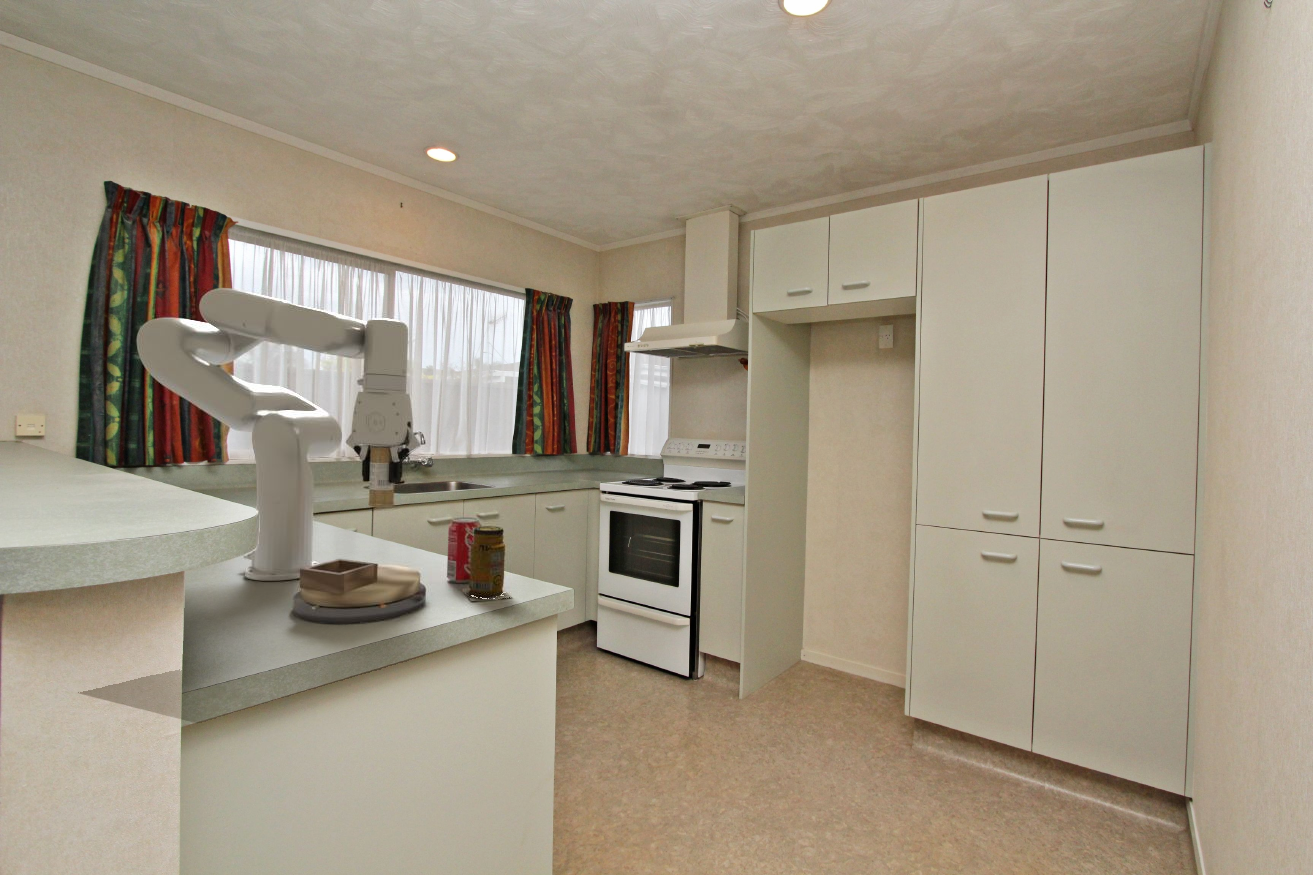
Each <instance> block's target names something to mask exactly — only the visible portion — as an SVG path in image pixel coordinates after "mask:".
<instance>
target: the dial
mask: <svg viewBox="0 0 1313 875" xmlns="http://www.w3.org/2000/svg"><path fill="white" fill-rule="evenodd" d="M420 583H421V573H420V572H419V571H418V570H416V569H414V568H411V567H408V566H407V567H406V566H402V565H394V564H378V563H374V562H368V561H360V560H351V559H344V558H337V559H333V560H329V561H326V562H321V563H320V564H317V565H313V566H309V567H305V568H302V569H300V578H299V589H300V591H301V599H302V600H303V601H305V602H307V603H310V604H314V605H319V606H327V607H360V606H371V605H378V604H384V603H389V602H394V601H398V600H401V599H404V598H407V597H409V596H412V595H414V594H415V593H417V592H418V591H419V589H420Z"/></svg>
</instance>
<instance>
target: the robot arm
mask: <svg viewBox="0 0 1313 875" xmlns="http://www.w3.org/2000/svg"><path fill="white" fill-rule="evenodd" d="M198 309H199V313H200V315H201V317H202V318H203V320H204V321H205V322H203V321H202V322H201V321H197V320H191V319H186V318H182V317H180V318H179V317H172V316H171V317H158V318H154V319H150V320H149V321H148V320H147V321H146V322H145V323H144V324H142V325H141V327H140V328H139V330H138V331H137V332H138V333H137V334H136V335H137V336H136V346H137V348H136V349H137V352H138V356H139V358H140V361H141V363H142V365H143V366H144V368H145V369H146V371H147V372H148V373H149V374H150V375H151V377H152V378H154V379H155V380H156V382H158V383H160V384H161V385H162V386H163V387H165V388H166V389H168V390H170V391H171V392H173V393H174V394H176V395H177V396H179V397H181V398H183V399H185V400H186V401H188V402H189V403H192V404H193V405H194V406H195V407H197V408H199V409H200V410H201V411H203V412H205V413H206V414H208V415H209V416H211V417H212V418H214V419H216V420H218V421H219V422H221V423H222V424H224V425H225V426H227V427H228V428H231V429H232V430H234V431H237V432H245V433H246V432H248V433H251V444H252V450H253V454H254V459H255V460H254V461H255V469H256V504H255V505H256V508H255V510H258V511H259V514H260V532H259V544H258V547H257V549H256V550H255V551H253V552H252V553H250V554H248V555H247V556H244V555H243V559H245V560H251V565H250V566H248V567H247V568H246V569H245V570H244V577H246V578H247V579H249V580H252V581H253V580H254V581H262V582H267V581H268V582H274V581H276V582H277V581H288V580H289V581H290V580H296V579H297V580H298V579H300V569H302V568H305V567H309V566H313V565H317V564H321V563H320V562H318V561H315V560H313V536H314V535H313V532H314V503H315V502H314V501H315V500H314V498H315V493H314V492H315V490H314V489H315V481H314V480H315V479H314V475H313V471H312V468H311V466H310V463H309V461H308V460H309V459H315V458H316V459H317V458H323V457H326V456H329V455H331V454H333V453H335V452H336V451H337V450H338V449H339V447H340V446H341V444H342V439H343V432H342V428H341V426H340V423H339V422H338V421H337V420H336V418H335V417H334V416H333V415H331V414H330V413H329V412H327V411H326V410H323V408H321V407H319V406H317V405H316V404H314V403H313V402H311V401H309V400H307V399H306V398H304V397H302V396H301V395H299V394H298V393H295V392H294V391H292V390H290V389H287V388H284V387H281V386H276V385H265V384H257V383H251V382H246V381H244V380H242V379H240V378H238V377H236V376H234V375H232V374H231V373H229V372H228V371H226V369H224V368H222V367H219V366H223V365H226V364H230V363H231V362H234V361H236V360H237V359H239V358H240V357H243V355H245V354H246V353H248V352H249V351H251V350H252V349H254V348H256V347H257V346H259V345H260V344H262V343H263V342H267V343H272V344H276V345H286V346H291V347H295V348H299V349H303V350H307V351H311V352H315V353H319V354H325V355H332V356H338V357H343V358H347V359H348V358H349V359H354V360H355V359H356V360H363V375H362V378H358V379H357V380H356V382H357V385H358V386H361V387H362V391H358V392H357V395H356V398H355V403H354V408H353V414H352V421H351V422H352V423H351V433H350V434H349V435H348V437H347V439H346V440H345V443H346V445H347V446H349V447H350V448H351V449H353V450H354V452H355V453H356V454H357V456H358V457H359V460H361V461H362V462H361V463H362V464H361V476H362V482H368V483H369V479H370V458H371V456H370V454H371V448H370V447H371V446H370V445H380V446H390V450H391V455H392V462H390V463H389V482H390V483H395V484H397V483H400V482H401V479H402V478H403V468H404V466H403V464H404V461H406V459H407V458H408V457H409V456H410V455H411V454H412V453H413V452H414V451H417V450H418V449H419V448H420V447H421V443H420V441H419V439H418V438H417V436H416V434H415V433H414V423H413V419H414V418H413V409H412V402H411V397H410V393H407V380H408V379H407V378H408V377H407V375H408V374H407V372H408V351H409V350H408V349H409V345H408V344H409V328H408V326H407V324H406V323H405V322H403V321H400V320H397V319H390V318H370V319H369V320H367V321H365V320H362V319H361V320H360V319H358V318H357V319H356V318H353V317H350V316H347V315H342V314H339V313H335V312H331V311H326V310H321V309H317V308H311V307H307V306H303V305H299V304H295V303H292V302H290V301H288V300H286V299H279V298H275V297H270V296H266V295H261V294H258V293H253V292H248V291H244V290H238V289H235V288H228V287H220V288H219V287H218V288H214V289H212V290H209V291H208V292H206V293H204V295H202V297H201V298H200V301H199V308H198ZM404 446H406V447H404Z"/></svg>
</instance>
